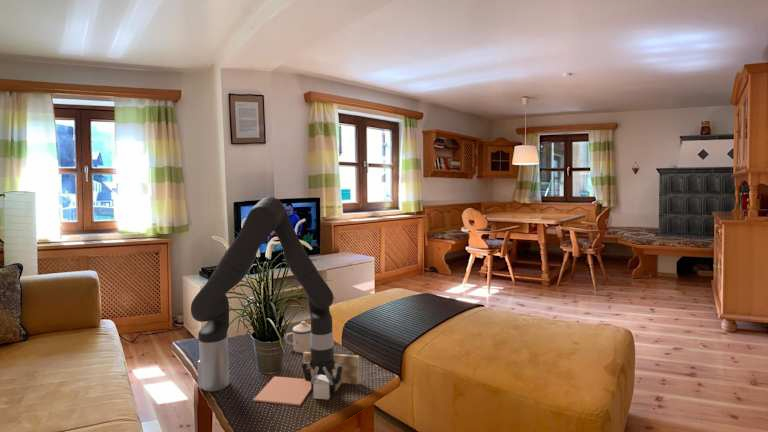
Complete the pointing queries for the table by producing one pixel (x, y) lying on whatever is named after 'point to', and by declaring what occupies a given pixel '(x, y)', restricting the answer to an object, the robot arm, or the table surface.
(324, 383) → the white block
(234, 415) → the table surface
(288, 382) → the terracotta tile
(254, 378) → the table surface
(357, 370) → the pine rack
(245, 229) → the robot arm
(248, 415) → the table surface
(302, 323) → the teacup with lid
